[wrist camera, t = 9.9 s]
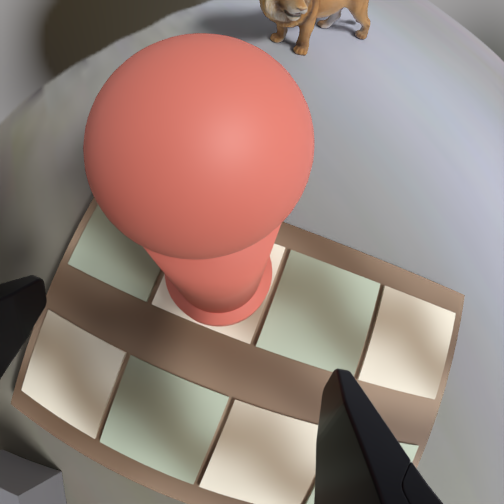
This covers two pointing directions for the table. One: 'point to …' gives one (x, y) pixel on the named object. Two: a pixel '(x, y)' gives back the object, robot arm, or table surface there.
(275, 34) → the lion figurine
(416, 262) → the table surface
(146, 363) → the board
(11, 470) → the die
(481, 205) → the table surface
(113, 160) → the pawn
